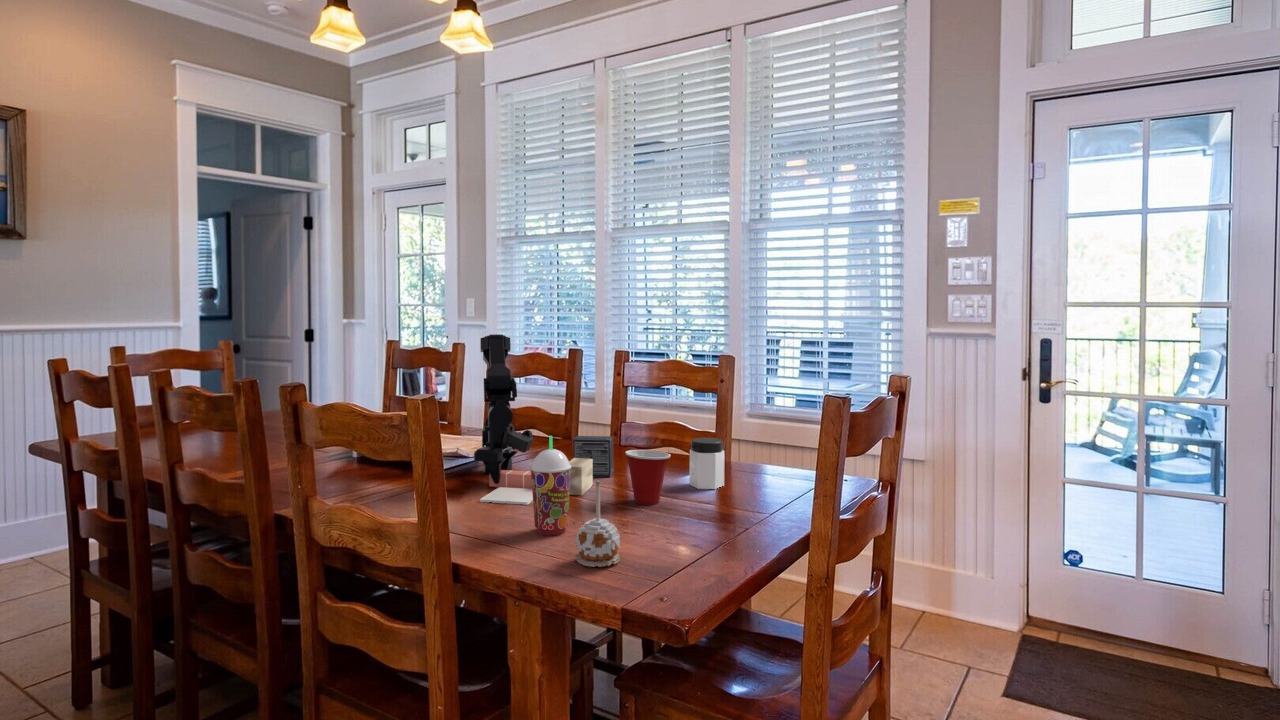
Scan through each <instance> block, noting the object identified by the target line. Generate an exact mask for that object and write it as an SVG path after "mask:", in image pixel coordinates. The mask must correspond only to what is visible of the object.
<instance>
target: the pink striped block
mask: <svg viewBox="0 0 1280 720" xmlns="http://www.w3.org/2000/svg"><path fill="white" fill-rule="evenodd" d="M488 476H489V477H488V482H489V483H488V485H489V487H491V488H492V487H493V488H499V487H506V488H523V489H532V478H531V470H529V471H528V470H501V472H500V480H499V483H498V484H495V483H494V481H493V479H492V477H491V475H490V473H489V474H488Z"/></svg>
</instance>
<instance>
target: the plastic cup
mask: <svg viewBox="0 0 1280 720" xmlns="http://www.w3.org/2000/svg"><path fill="white" fill-rule="evenodd" d="M625 456H626V457H627V463H628V466H629V467H628V468H629V473H630V474H629V475H630V482H631V487H632V493H633V498H634V501H635V503H636V504H639V505H645V506H647V505H655V504H658V503H659V501H660V500H661V493H662V489H663V484H664V479H665V472H666V468H667V464H668V461H669V459H670V458H671V454H670V453H668V452H664V451H659V450H651V449H630V450H626V451H625Z"/></svg>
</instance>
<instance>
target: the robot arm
mask: <svg viewBox="0 0 1280 720" xmlns="http://www.w3.org/2000/svg"><path fill="white" fill-rule="evenodd" d="M479 342H480V344H479V345H480V353H482V360H483V362H484V363H485V364H486V366H487V367H488V368H487V369H486V372H485V373H486V374H485V376H486V377H484V378H483V402H484V403H488V404H487V418H486V420H485V421H484V429H483V430H481V447H480V448H477V449H476V450H475V451H474V453H473V460H474V462H483V464H484V470H483V471H482V474H487V475H489V473H490V475H491V477H492V479H493V481H494V483H495V484H498V483H499V480H500V472H501V470H513V457H515V455H517V454H518V453H519V452H520V453H523V454H524V453H527V451H530V450H531V446H532V444H533V443H534V437H533V432H532V430H529V429H525V430H524V431H523V432H521V431H519V432H518V431H516V430H515V426H514V424H512V421H513V416H514V414H513V412H512V409H511V403H510V402H516V399H517V398H518V390H517V389H518V388H517V381H516V380H515V377H512V371H511V369H510V368H508V367H507V366H506V362H507V361H508V358H509V357H508V356H509V353H510V352H511V351H512V350H511V347H512V346H511V337H508V336H506V335H504V334H499V333H498V334H494V333H493V334H489V335H485V336H484V337H480V341H479ZM516 450H517V451H516ZM513 471H514V470H513Z"/></svg>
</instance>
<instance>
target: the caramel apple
mask: <svg viewBox="0 0 1280 720" xmlns="http://www.w3.org/2000/svg"><path fill="white" fill-rule="evenodd" d="M595 516H596V517H595V518H593V519H590V520H588V521H586V522H585V523H584V524H583V525H581V527H579V528H578V533H576V537H574V545H575V546H576V547H577V551H578V553H577V554H576V555H575V556H576V557H575V558H576V559H575V561H577V562H578V564H581V565H582V566H586V567H592V568H594V567H596V566H598V567H597V568H599V567H601V568H602V567H606V565H607V566H608V567H610V566H611V565H616V564H617V563H618V562H620V561H621V554H619V553H618V550H619V549H621V534H620V533H619V532H618V527H616V526H615V524H613V523H612V522H610V520H607V519H605V518H601V481H600V480H596V481H595Z"/></svg>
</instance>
